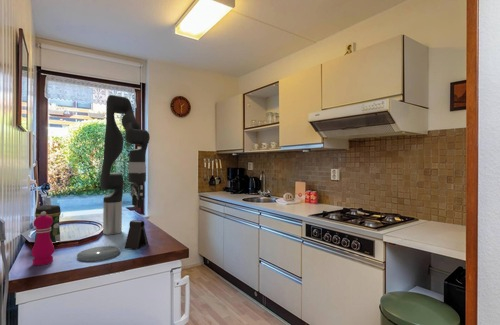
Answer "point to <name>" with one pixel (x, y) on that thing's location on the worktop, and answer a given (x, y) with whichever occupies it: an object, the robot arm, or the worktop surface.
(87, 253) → the dish
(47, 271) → the worktop surface
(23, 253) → the worktop surface
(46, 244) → the pepper mill
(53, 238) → the coffee jar
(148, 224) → the worktop surface
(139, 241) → the door stopper
